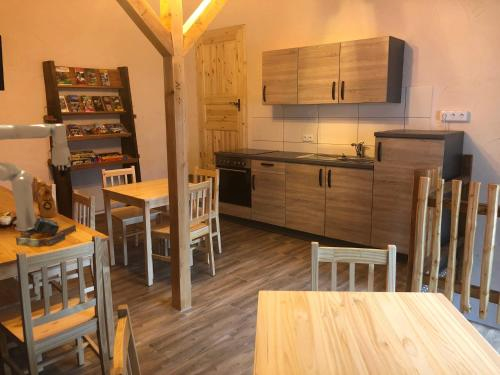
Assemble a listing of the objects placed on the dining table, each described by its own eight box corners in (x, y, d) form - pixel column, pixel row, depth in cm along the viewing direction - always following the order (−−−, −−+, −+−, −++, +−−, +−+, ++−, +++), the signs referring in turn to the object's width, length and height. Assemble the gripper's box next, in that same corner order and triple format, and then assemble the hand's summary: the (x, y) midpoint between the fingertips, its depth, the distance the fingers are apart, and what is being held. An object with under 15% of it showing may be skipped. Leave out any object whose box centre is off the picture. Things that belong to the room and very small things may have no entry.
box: (59, 226, 232) (40, 221, 225) (55, 236, 232) (35, 230, 225) (57, 221, 238) (37, 216, 231) (52, 230, 238) (33, 225, 231)
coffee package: (40, 219, 264) (36, 184, 259) (38, 214, 274) (34, 181, 270) (57, 216, 269) (53, 183, 264) (55, 212, 279) (51, 179, 275)
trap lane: (9, 243, 220) (8, 237, 219) (48, 228, 245) (47, 222, 245) (46, 247, 213) (45, 241, 213) (82, 231, 239) (81, 225, 238)
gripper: (44, 145, 242) (48, 177, 246) (66, 146, 237) (69, 178, 241) (54, 144, 249) (57, 174, 253) (75, 144, 244) (78, 176, 248)
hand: (63, 176), depth 247 cm, fingers closed
